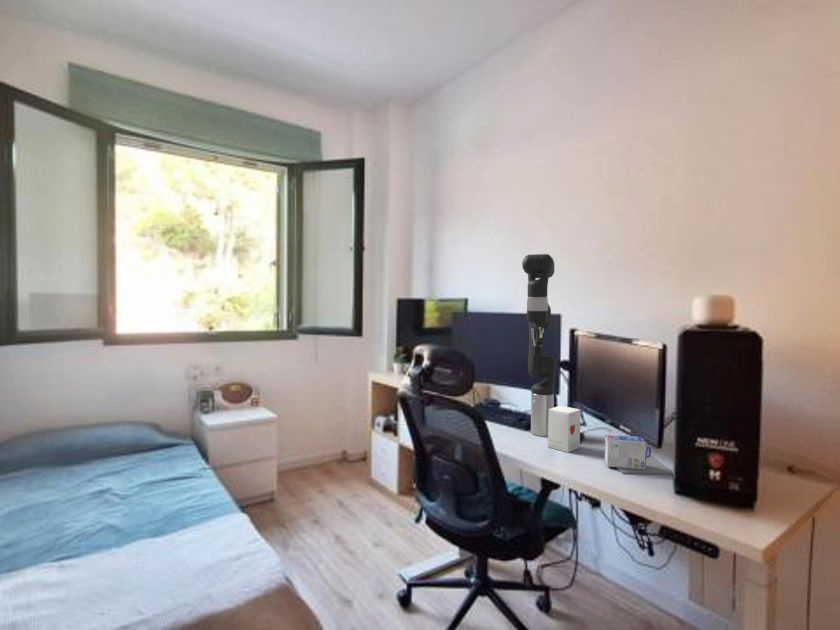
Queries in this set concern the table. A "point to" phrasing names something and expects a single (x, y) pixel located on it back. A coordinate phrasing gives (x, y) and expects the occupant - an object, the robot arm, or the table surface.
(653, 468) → the mat
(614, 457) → the ink cartridge box
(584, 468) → the table surface
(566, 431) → the supplement box
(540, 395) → the robot arm
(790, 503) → the table surface
